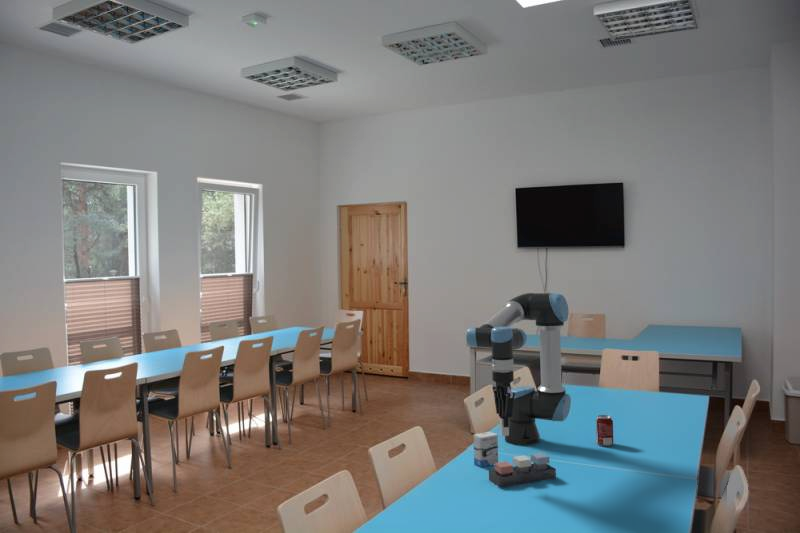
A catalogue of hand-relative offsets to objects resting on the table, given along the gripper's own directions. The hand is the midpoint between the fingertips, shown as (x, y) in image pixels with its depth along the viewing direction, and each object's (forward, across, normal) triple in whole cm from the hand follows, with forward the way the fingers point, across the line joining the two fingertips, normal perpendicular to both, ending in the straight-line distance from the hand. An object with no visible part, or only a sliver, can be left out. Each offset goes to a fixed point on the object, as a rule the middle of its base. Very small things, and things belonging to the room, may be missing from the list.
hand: (504, 435), depth 222 cm
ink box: (+17, -19, +2) cm, 26 cm away
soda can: (+18, -21, +58) cm, 64 cm away
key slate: (+15, 0, +14) cm, 20 cm away
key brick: (+16, +1, -1) cm, 16 cm away
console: (+17, 0, +6) cm, 18 cm away
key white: (+15, 0, +6) cm, 16 cm away
